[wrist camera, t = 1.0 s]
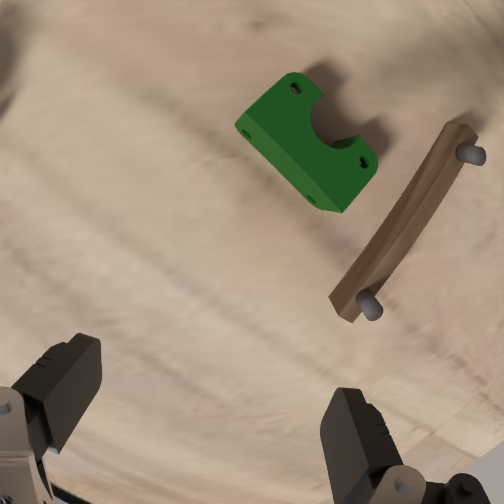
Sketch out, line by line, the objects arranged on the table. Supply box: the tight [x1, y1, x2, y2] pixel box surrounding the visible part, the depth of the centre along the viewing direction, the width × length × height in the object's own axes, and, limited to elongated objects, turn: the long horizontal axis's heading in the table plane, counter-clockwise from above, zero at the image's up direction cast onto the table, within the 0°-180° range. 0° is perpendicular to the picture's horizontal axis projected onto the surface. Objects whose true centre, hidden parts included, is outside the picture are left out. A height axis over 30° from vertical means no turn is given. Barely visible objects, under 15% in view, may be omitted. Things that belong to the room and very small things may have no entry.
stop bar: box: [329, 123, 486, 323], centre depth 28 cm, size 2×24×7 cm, turn 147°
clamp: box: [235, 72, 378, 213], centre depth 26 cm, size 12×6×9 cm, turn 39°
